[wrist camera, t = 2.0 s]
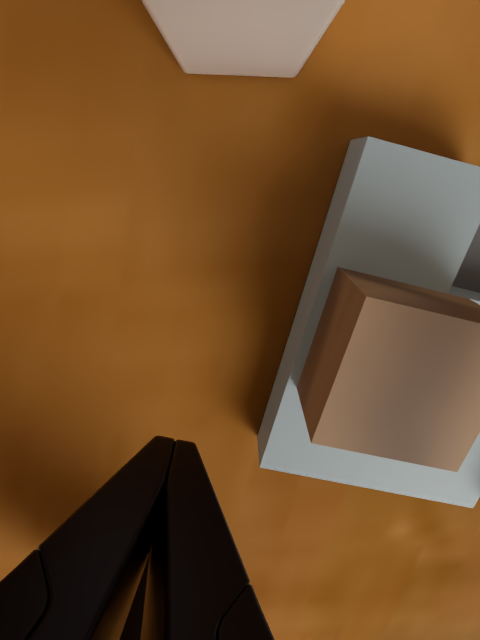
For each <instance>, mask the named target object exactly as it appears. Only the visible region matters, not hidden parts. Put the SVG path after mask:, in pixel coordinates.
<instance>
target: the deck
mask: <svg viewBox="0 0 480 640" xmlns="http://www.w3.org/2000/svg"><path fill="white" fill-rule="evenodd" d="M337 267H340V268H344V269H349V270H353V271H357V272H361V273H365V274H369V275H373V276H377V277H382V278H386V279H390V280H394V281H398V282H402V283H406V284H410V285H414V286H419V287H423V288H427V289H431V290H435V291H439V292H443V293H447V294H452V295H456V296H460V297H464V298H468V299H470V300H472V301H474V302H476V303H477V304H479V305H480V167H478V166H475V165H471V164H468V163H464V162H460V161H457V160H453V159H449V158H446V157H442V156H439V155H435V154H431V153H428V152H424V151H420V150H417V149H413V148H410V147H406V146H402V145H399V144H395V143H391V142H388V141H384V140H381V139H377V138H373V137H370V136H367V137H362V138H358V139H353V140H350V143H349V147H348V150H347V153H346V156H345V159H344V163H343V166H342V169H341V172H340V175H339V178H338V182H337V185H336V188H335V191H334V194H333V198H332V201H331V204H330V207H329V210H328V213H327V217H326V220H325V223H324V226H323V229H322V232H321V236H320V239H319V242H318V245H317V248H316V252H315V255H314V258H313V261H312V264H311V267H310V271H309V274H308V277H307V280H306V283H305V287H304V290H303V293H302V296H301V299H300V302H299V306H298V309H297V312H296V315H295V318H294V322H293V325H292V328H291V331H290V334H289V337H288V341H287V344H286V347H285V350H284V353H283V357H282V360H281V363H280V366H279V369H278V372H277V376H276V379H275V382H274V385H273V388H272V392H271V395H270V398H269V401H268V404H267V407H266V411H265V414H264V417H263V420H262V423H261V427H260V430H259V433H258V436H257V438H258V452H259V467H260V468H265V469H271V470H276V471H281V472H286V473H292V474H297V475H302V476H307V477H312V478H318V479H323V480H328V481H333V482H339V483H344V484H349V485H354V486H360V487H365V488H370V489H375V490H380V491H386V492H391V493H396V494H401V495H407V496H412V497H417V498H422V499H427V500H433V501H438V502H443V503H448V504H454V505H459V506H464V507H469V508H473V507H474V506H475V504H476V502H477V501H478V499H479V497H480V433H479V434H478V436H477V438H476V440H475V442H474V443H473V445H472V447H471V449H470V450H469V452H468V454H467V456H466V458H465V459H464V461H463V463H462V465H461V466H460V468H459V470H458V472H453V471H448V470H443V469H438V468H433V467H428V466H423V465H418V464H413V463H408V462H403V461H398V460H393V459H388V458H383V457H378V456H373V455H368V454H363V453H358V452H353V451H348V450H343V449H338V448H333V447H328V446H323V445H318V444H313V443H311V441H310V437H309V433H308V430H307V426H306V422H305V418H304V414H303V410H302V407H301V403H300V399H299V395H298V391H297V385H298V382H299V379H300V376H301V373H302V370H303V367H304V364H305V361H306V358H307V356H308V353H309V350H310V347H311V344H312V341H313V338H314V335H315V332H316V329H317V326H318V323H319V320H320V317H321V314H322V311H323V308H324V305H325V303H326V300H327V297H328V294H329V291H330V288H331V285H332V282H333V279H334V276H335V273H336V270H337Z"/></svg>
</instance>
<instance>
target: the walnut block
mask: <svg viewBox="0 0 480 640" xmlns="http://www.w3.org/2000/svg"><path fill="white" fill-rule="evenodd" d="M297 391H298V395H299V399H300V403H301V407H302V410H303V414H304V418H305V422H306V426H307V430H308V433H309V437H310V441H311V443H313V444H318V445H323V446H328V447H333V448H338V449H343V450H348V451H353V452H358V453H363V454H368V455H373V456H378V457H383V458H388V459H393V460H398V461H403V462H408V463H413V464H418V465H423V466H428V467H433V468H438V469H443V470H448V471H453V472H458V470H459V468H460V466H461V465H462V463H463V461H464V459H465V458H466V456H467V454H468V452H469V450H470V449H471V447H472V445H473V443H474V442H475V440H476V438H477V436H478V434H479V433H480V305H479V304H477V303H476V302H474V301H472V300H470V299H468V298H464V297H460V296H456V295H452V294H447V293H443V292H439V291H435V290H431V289H427V288H423V287H419V286H414V285H410V284H406V283H402V282H398V281H394V280H390V279H386V278H382V277H377V276H373V275H369V274H365V273H361V272H357V271H353V270H349V269H344V268H340V267H337V270H336V273H335V276H334V279H333V282H332V285H331V288H330V291H329V294H328V297H327V300H326V303H325V305H324V308H323V311H322V314H321V317H320V320H319V323H318V326H317V329H316V332H315V335H314V338H313V341H312V344H311V347H310V350H309V353H308V356H307V358H306V361H305V364H304V367H303V370H302V373H301V376H300V379H299V382H298V385H297Z"/></svg>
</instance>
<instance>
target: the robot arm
mask: <svg viewBox="0 0 480 640" xmlns="http://www.w3.org/2000/svg"><path fill="white" fill-rule="evenodd" d="M249 583H250V580H249V578H248V575H247V573H246V570H245V568H244V565H243V563H242V560H241V557H240V555H239V552H238V550H237V547H236V545H235V542H234V540H233V537H232V535H231V532H230V530H229V527H228V525H227V522H226V520H225V517H224V515H223V512H222V510H221V507H220V505H219V502H218V500H217V497H216V495H215V492H214V489H213V487H212V484H211V482H210V479H209V477H208V474H207V472H206V469H205V467H204V464H203V462H202V459H201V457H200V454H199V452H198V449H197V447H196V445H195V443H193V442H189V441H184V440H176V441H175V440H174V439H173V438H168V437H163V436H155V437H154V438H153V439H152V440H151V441H150V442H149V443H147V444H146V445H145V446H144V447H143V448H142V449H141V450H140V451H139V452H138V453H137V454H136V455H135V456H134V457H133V458H132V459H131V460H129V461H128V462H127V463H126V464H125V465H124V466H123V467H122V468H121V469H120V470H119V471H118V472H117V473H116V474H115V475H114V476H112V477H111V478H110V479H109V480H108V481H107V482H106V483H105V484H104V485H103V486H102V487H101V488H100V489H99V490H98V491H97V492H96V493H94V494H93V495H92V496H91V497H90V498H89V499H88V500H87V501H86V502H85V503H84V504H83V505H82V506H81V507H80V508H79V509H78V510H76V511H75V512H74V513H73V514H72V515H71V516H70V517H69V518H68V519H67V520H66V521H65V522H64V523H63V524H62V525H61V526H60V527H58V528H57V529H56V530H55V531H54V532H53V533H52V534H51V535H50V536H49V537H48V538H47V539H46V540H45V541H44V542H43V543H42V544H40V545H39V547H38V550H34V551H33V552H32V553H31V554H30V555H28V556H27V557H26V558H25V559H24V560H23V561H22V562H21V563H20V564H19V565H18V566H17V567H16V568H15V569H14V570H13V571H11V572H10V573H9V574H8V575H7V576H6V577H5V578H4V579H2V580H1V581H0V640H274V638H273V635H272V633H271V631H270V628H269V626H268V624H267V621H266V619H265V617H264V614H263V612H262V610H261V607H260V605H259V602H258V600H257V597H256V595H255V592H254V590H253V587H252V585H249Z"/></svg>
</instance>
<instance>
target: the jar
mask: <svg viewBox="0 0 480 640" xmlns="http://www.w3.org/2000/svg"><path fill="white" fill-rule="evenodd" d="M141 1H142V3H143V5H144V6H145V8H146V10H147V12H148V13H149V15H150V17H151V18H152V20H153V22H154V23H155V25H156V27H157V28H158V30H159V32H160V34H161V35H162V37H163V39H164V40H165V42H166V44H167V45H168V47H169V49H170V50H171V52H172V54H173V56H174V57H175V59H176V61H177V62H178V64H179V66H180V67H181V69H182V71H184V72H185V73H188V74H215V75H240V76H264V77H286V78H293V77H295V76H297V75H298V73H299V72H300V70H301V69H302V67H303V66H304V64H305V62H306V61H307V59H308V58H309V56H310V55H311V53H312V52H313V50H314V49H315V47H316V46H317V44H318V42H319V41H320V39H321V38H322V36H323V35H324V33H325V32H326V30H327V29H328V27H329V26H330V24H331V22H332V21H333V19H334V18H335V16H336V15H337V13H338V12H339V10H340V9H341V7H342V6H343V4H344V3H345V1H346V0H141Z"/></svg>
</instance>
